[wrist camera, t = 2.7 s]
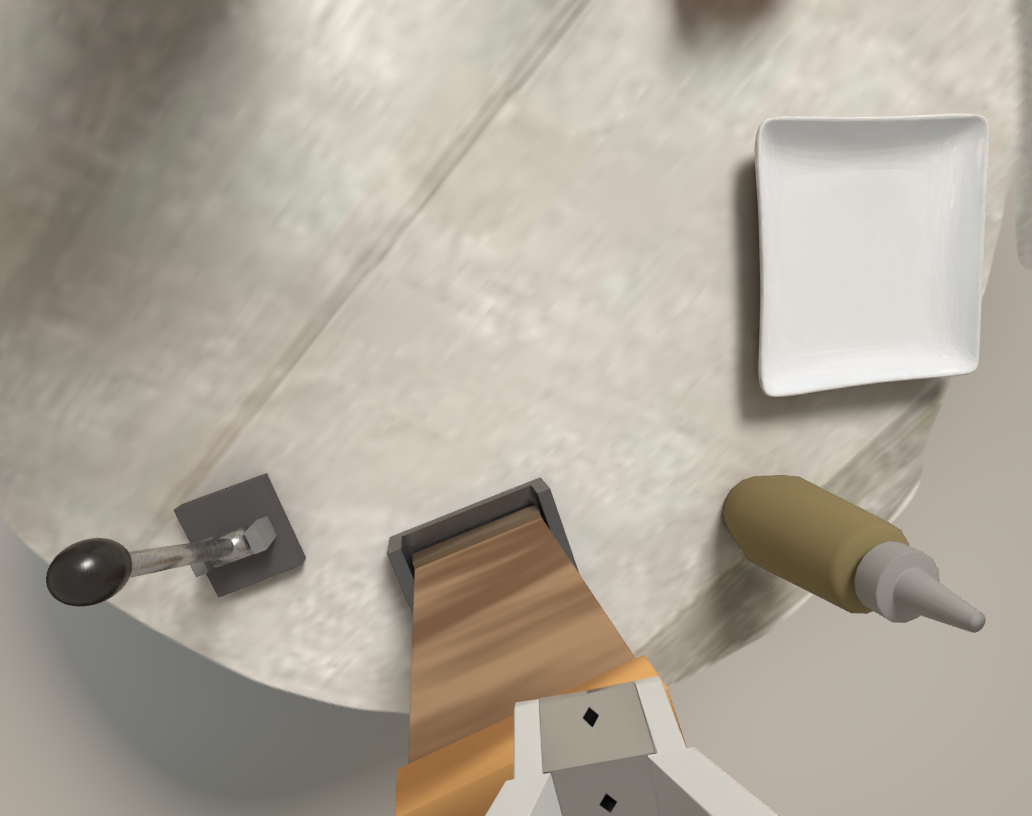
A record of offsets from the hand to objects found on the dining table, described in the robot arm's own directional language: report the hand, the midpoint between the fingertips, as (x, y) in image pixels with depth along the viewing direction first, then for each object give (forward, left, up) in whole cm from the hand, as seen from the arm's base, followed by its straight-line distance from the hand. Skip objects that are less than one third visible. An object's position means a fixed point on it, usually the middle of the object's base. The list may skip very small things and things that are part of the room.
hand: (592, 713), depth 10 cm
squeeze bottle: (+22, +14, -29) cm, 39 cm away
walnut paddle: (+7, -5, -27) cm, 29 cm away
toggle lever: (-7, -16, -26) cm, 31 cm away
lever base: (-7, -16, -28) cm, 33 cm away
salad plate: (+12, +34, -29) cm, 46 cm away
